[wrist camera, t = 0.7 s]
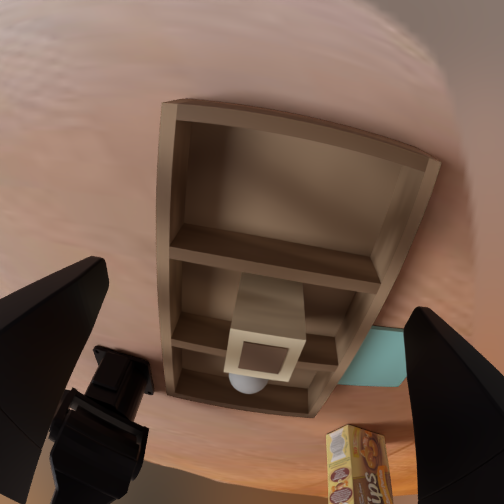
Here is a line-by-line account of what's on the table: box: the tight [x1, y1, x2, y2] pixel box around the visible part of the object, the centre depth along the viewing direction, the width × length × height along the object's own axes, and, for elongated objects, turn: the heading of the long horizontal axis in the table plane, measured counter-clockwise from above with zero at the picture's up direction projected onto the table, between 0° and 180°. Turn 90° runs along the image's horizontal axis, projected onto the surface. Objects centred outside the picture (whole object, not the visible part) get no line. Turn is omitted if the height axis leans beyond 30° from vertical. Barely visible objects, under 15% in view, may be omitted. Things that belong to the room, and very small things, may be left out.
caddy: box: [156, 99, 442, 418], centre depth 20 cm, size 24×14×3 cm, turn 171°
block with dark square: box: [224, 272, 306, 382], centre depth 19 cm, size 4×4×6 cm
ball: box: [229, 373, 269, 394], centre depth 24 cm, size 3×3×3 cm
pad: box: [338, 326, 407, 387], centre depth 25 cm, size 8×8×1 cm
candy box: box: [326, 425, 393, 504], centre depth 28 cm, size 9×4×15 cm, turn 54°
